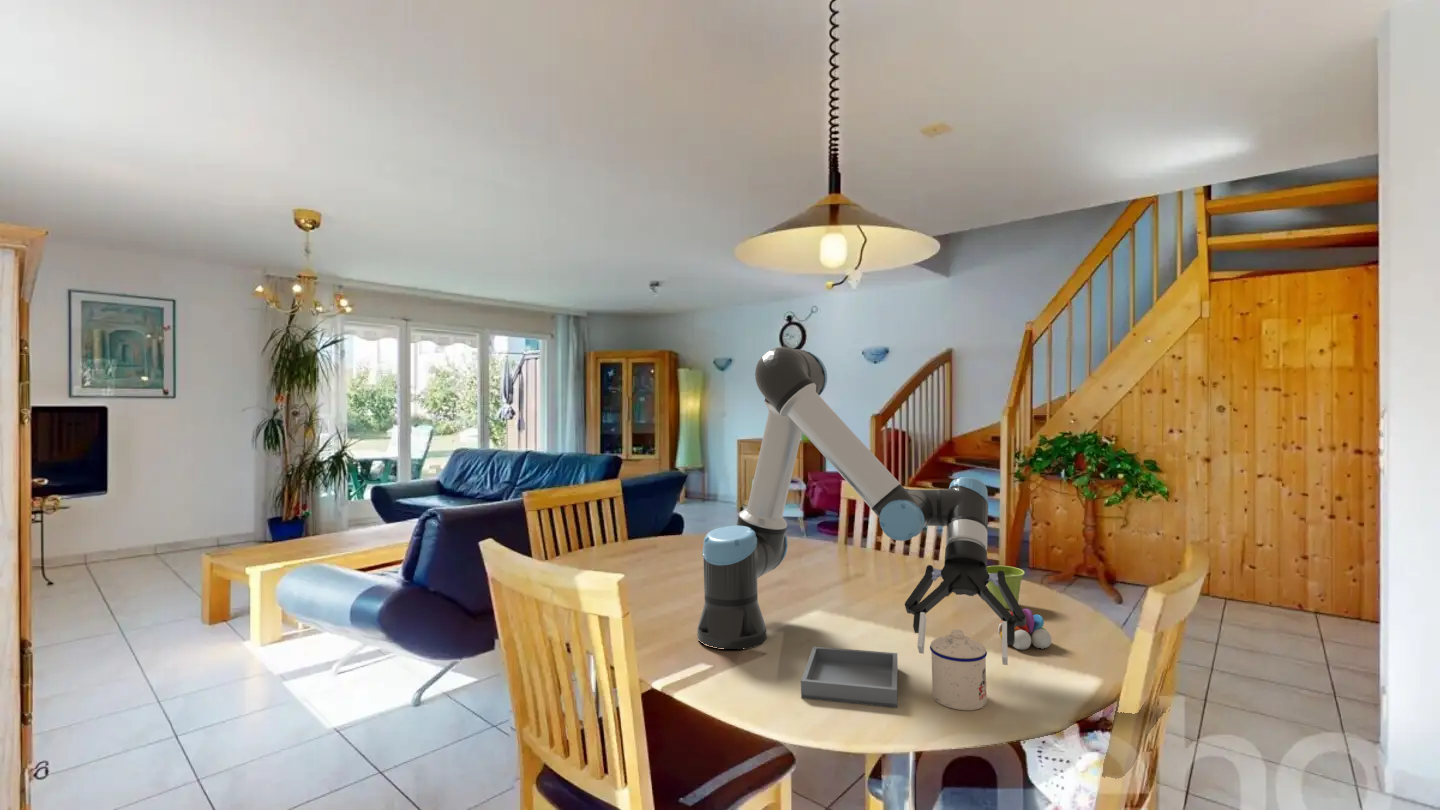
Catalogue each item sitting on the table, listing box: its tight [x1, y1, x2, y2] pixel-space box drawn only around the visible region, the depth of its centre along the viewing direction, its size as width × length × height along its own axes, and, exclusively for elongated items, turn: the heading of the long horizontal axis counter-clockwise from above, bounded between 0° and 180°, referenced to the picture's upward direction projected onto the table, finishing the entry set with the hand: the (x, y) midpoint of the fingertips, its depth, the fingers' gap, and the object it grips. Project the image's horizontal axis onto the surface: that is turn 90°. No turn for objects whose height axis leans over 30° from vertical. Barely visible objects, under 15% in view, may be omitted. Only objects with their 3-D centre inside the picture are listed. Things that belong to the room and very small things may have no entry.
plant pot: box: [986, 565, 1026, 610], centre depth 157 cm, size 9×9×9 cm
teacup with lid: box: [929, 629, 988, 711], centre depth 110 cm, size 12×9×12 cm
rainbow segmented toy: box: [997, 608, 1052, 651], centre depth 132 cm, size 8×10×7 cm
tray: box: [800, 646, 899, 709], centre depth 116 cm, size 16×16×3 cm
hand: (961, 655), depth 110 cm, fingers open, 13 cm apart
